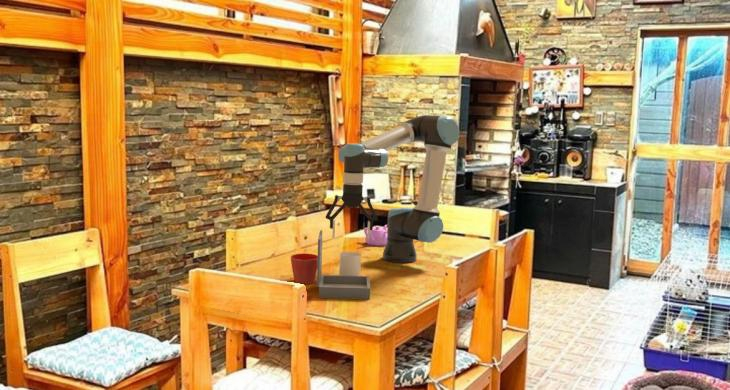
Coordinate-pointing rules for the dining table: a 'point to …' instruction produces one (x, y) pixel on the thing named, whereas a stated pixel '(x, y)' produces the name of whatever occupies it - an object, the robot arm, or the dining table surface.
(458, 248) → the dining table surface
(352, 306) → the dining table surface
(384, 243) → the pink toy pig
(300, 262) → the flower pot
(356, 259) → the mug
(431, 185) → the robot arm
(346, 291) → the case
